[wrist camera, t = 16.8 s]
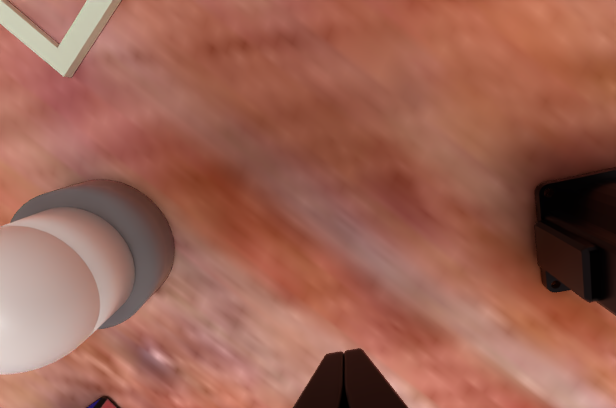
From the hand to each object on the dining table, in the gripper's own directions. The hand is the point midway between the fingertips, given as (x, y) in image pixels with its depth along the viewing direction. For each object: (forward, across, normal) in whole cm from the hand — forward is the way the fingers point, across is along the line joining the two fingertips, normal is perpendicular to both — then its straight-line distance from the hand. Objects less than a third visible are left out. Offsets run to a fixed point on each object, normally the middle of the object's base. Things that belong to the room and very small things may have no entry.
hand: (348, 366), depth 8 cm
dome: (+10, +14, -1) cm, 17 cm away
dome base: (+13, +14, -1) cm, 19 cm away
